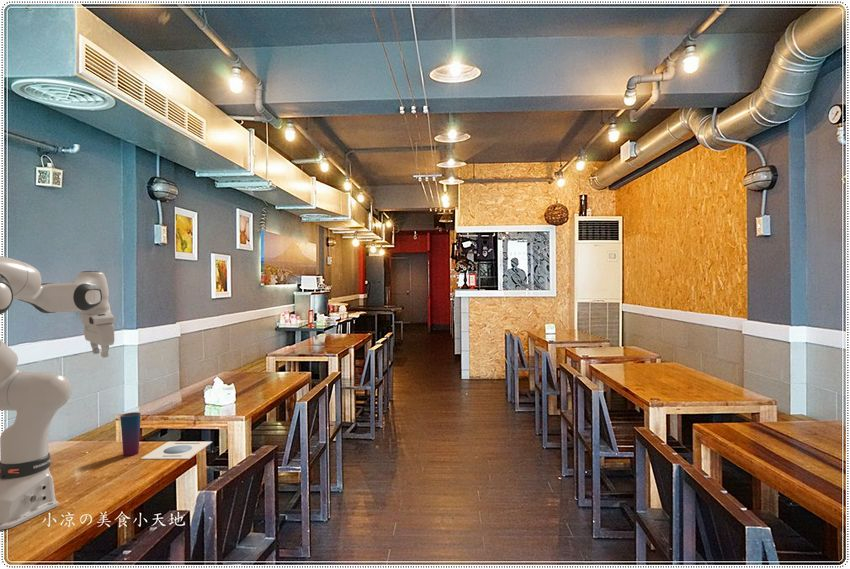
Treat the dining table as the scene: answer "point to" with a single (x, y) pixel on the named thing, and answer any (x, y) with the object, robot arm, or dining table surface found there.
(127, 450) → the cup
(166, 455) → the paper sheet
